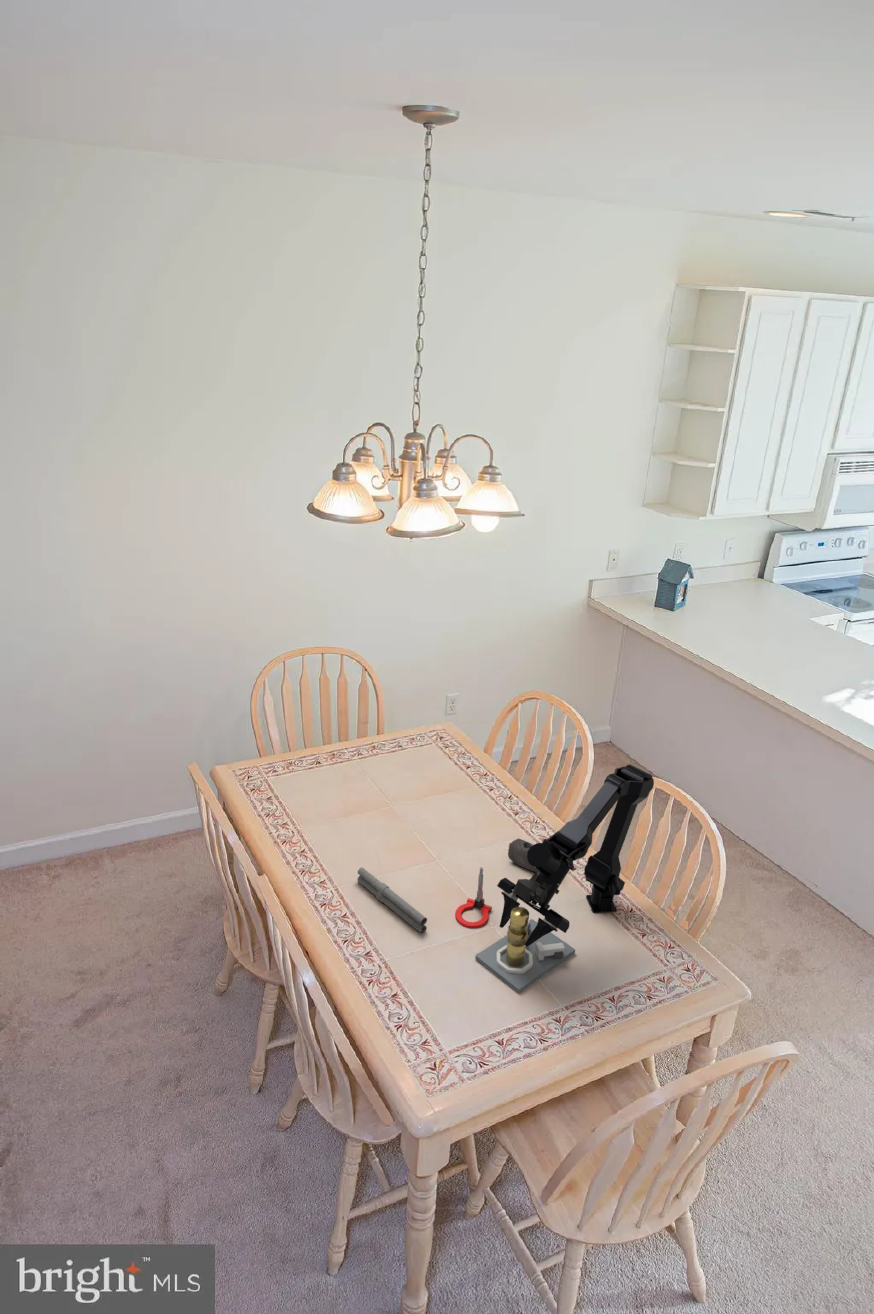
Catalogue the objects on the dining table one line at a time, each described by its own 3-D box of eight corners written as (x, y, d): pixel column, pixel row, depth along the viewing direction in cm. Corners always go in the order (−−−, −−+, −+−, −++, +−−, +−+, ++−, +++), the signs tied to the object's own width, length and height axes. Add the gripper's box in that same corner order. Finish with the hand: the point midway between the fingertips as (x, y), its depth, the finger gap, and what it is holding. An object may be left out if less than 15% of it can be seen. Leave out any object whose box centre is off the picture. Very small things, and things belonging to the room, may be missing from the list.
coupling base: (531, 922, 220) (533, 908, 219) (574, 953, 211) (576, 939, 209) (475, 959, 208) (476, 944, 206) (518, 993, 199) (520, 979, 197)
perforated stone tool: (562, 875, 238) (564, 855, 236) (552, 885, 234) (555, 864, 232) (515, 853, 246) (517, 833, 243) (505, 862, 242) (507, 842, 240)
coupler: (505, 951, 209) (510, 904, 203) (526, 954, 208) (531, 907, 203) (503, 965, 205) (508, 918, 199) (524, 969, 204) (529, 921, 198)
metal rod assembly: (427, 931, 216) (428, 915, 214) (419, 936, 214) (420, 920, 212) (363, 879, 233) (363, 863, 231) (355, 883, 231) (355, 868, 229)
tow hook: (479, 934, 216) (495, 911, 224) (481, 893, 211) (498, 871, 218) (449, 922, 220) (465, 900, 227) (450, 882, 214) (467, 860, 222)
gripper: (505, 849, 205) (469, 906, 203) (567, 889, 193) (529, 951, 190) (525, 863, 213) (490, 918, 211) (585, 902, 201) (549, 962, 199)
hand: (513, 936), depth 202 cm, fingers open, 8 cm apart
